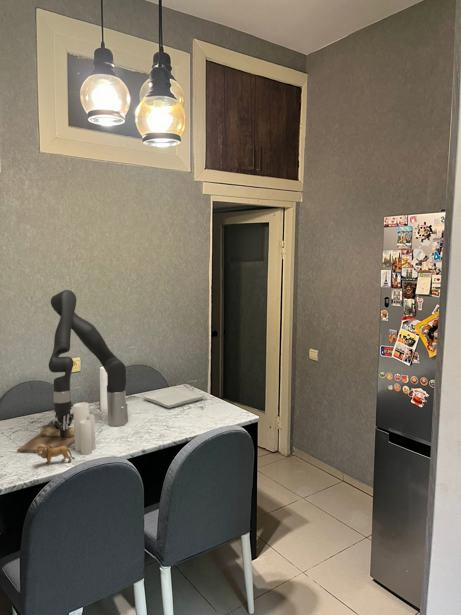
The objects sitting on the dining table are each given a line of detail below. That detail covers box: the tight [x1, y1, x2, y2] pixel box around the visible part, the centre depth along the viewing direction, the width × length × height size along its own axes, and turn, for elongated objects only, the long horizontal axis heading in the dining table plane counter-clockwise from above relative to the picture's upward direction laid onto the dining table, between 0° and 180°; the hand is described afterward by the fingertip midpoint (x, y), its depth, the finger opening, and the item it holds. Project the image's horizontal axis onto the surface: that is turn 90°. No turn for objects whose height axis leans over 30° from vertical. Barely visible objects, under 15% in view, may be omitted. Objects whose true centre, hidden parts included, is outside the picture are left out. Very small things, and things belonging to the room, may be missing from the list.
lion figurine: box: [35, 444, 76, 467], centre depth 189 cm, size 15×5×9 cm, turn 117°
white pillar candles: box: [72, 401, 96, 456], centre depth 202 cm, size 11×7×20 cm, turn 46°
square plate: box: [142, 387, 206, 409], centre depth 274 cm, size 27×27×4 cm
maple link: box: [40, 423, 74, 437], centre depth 216 cm, size 16×4×4 cm, turn 80°
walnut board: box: [17, 419, 75, 454], centre depth 213 cm, size 20×28×8 cm
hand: (63, 437), depth 211 cm, fingers closed
